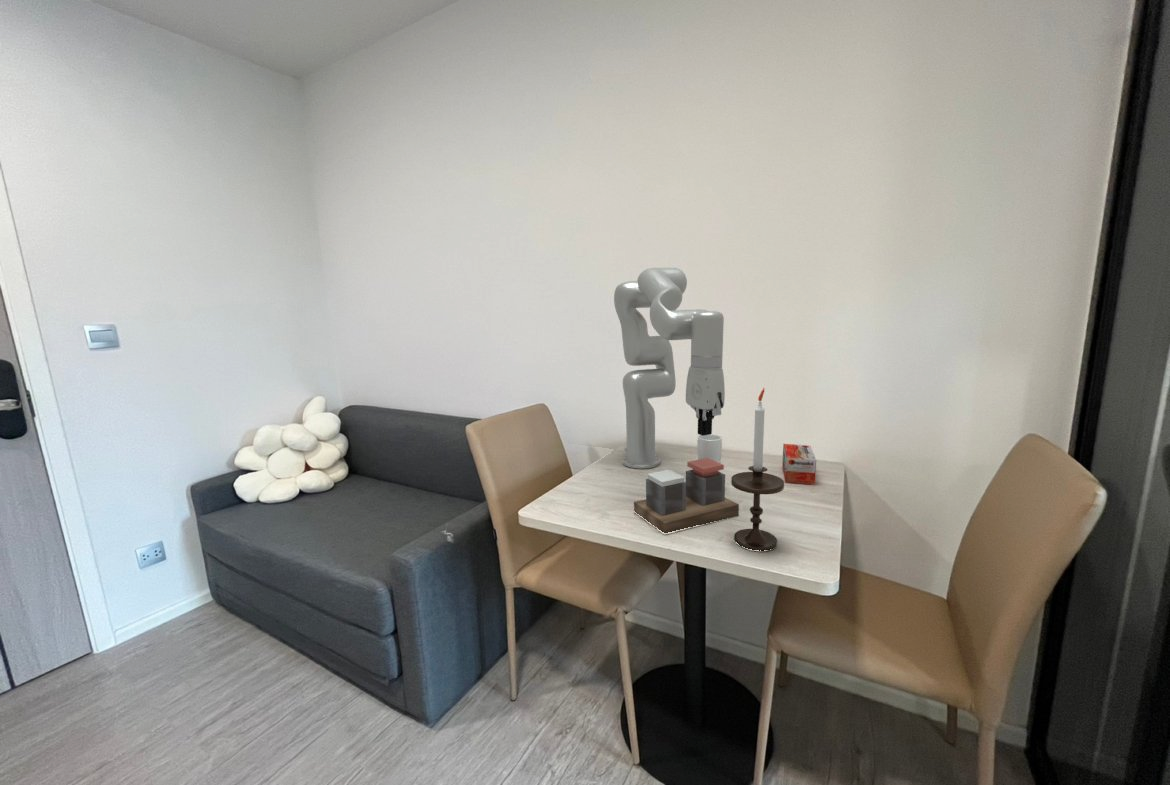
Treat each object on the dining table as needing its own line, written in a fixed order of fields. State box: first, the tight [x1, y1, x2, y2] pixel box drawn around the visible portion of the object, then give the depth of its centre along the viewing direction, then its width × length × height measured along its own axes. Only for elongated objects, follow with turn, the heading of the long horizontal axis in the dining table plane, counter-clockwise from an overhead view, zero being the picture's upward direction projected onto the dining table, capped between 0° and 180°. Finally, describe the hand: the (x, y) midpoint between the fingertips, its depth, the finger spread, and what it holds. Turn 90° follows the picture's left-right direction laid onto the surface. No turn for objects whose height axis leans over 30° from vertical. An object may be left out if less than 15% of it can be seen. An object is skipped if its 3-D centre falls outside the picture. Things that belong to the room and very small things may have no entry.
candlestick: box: [730, 387, 785, 551], centre depth 105 cm, size 11×11×35 cm
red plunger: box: [686, 458, 725, 477], centre depth 124 cm, size 6×6×8 cm
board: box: [633, 469, 740, 533], centre depth 122 cm, size 14×22×10 cm, turn 115°
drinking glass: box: [696, 433, 723, 472], centre depth 140 cm, size 7×7×15 cm
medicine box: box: [782, 443, 817, 486], centre depth 147 cm, size 15×8×8 cm, turn 162°
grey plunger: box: [647, 469, 685, 487], centre depth 119 cm, size 6×6×8 cm
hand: (704, 434), depth 123 cm, fingers closed
